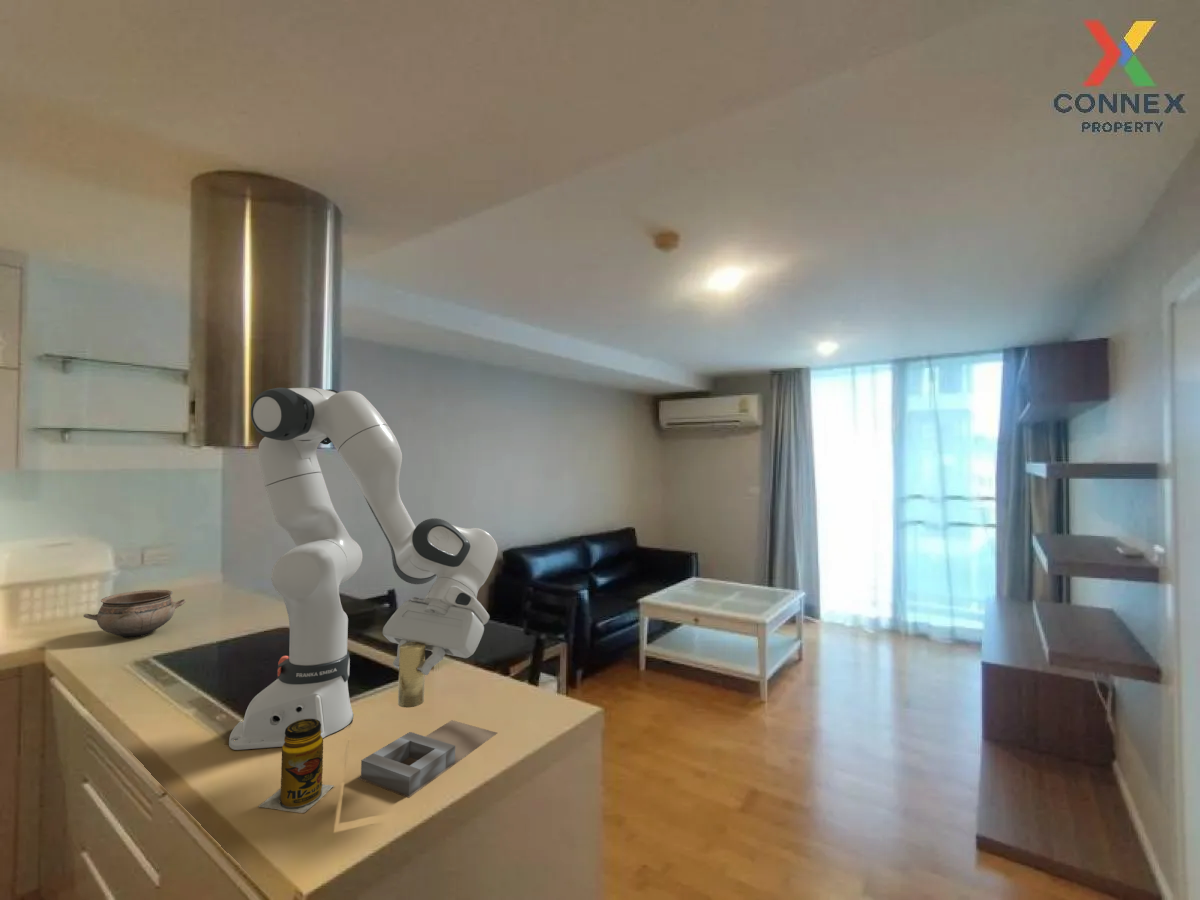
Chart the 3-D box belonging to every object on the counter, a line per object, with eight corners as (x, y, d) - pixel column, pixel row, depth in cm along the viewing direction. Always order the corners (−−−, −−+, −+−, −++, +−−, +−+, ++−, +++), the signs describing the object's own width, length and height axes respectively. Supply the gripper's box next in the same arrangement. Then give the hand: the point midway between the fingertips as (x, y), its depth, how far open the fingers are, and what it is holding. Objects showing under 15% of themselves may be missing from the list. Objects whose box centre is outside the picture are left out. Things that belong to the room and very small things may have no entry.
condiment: (304, 813, 85) (307, 737, 85) (257, 807, 86) (259, 732, 87) (334, 786, 92) (336, 716, 92) (290, 781, 93) (292, 712, 94)
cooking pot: (177, 620, 187) (178, 585, 187) (192, 631, 175) (193, 594, 175) (77, 637, 168) (79, 598, 168) (87, 651, 155) (88, 609, 156)
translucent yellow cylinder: (398, 709, 93) (399, 651, 94) (397, 698, 97) (399, 643, 98) (424, 705, 95) (426, 648, 95) (423, 695, 99) (424, 640, 99)
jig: (408, 803, 88) (409, 779, 88) (357, 784, 93) (357, 760, 93) (497, 737, 109) (498, 717, 109) (451, 724, 114) (452, 705, 115)
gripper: (400, 587, 107) (358, 651, 98) (482, 600, 99) (444, 671, 89) (416, 605, 111) (377, 668, 102) (496, 618, 102) (461, 689, 93)
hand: (409, 670), depth 96 cm, fingers closed on translucent yellow cylinder, 4 cm apart
